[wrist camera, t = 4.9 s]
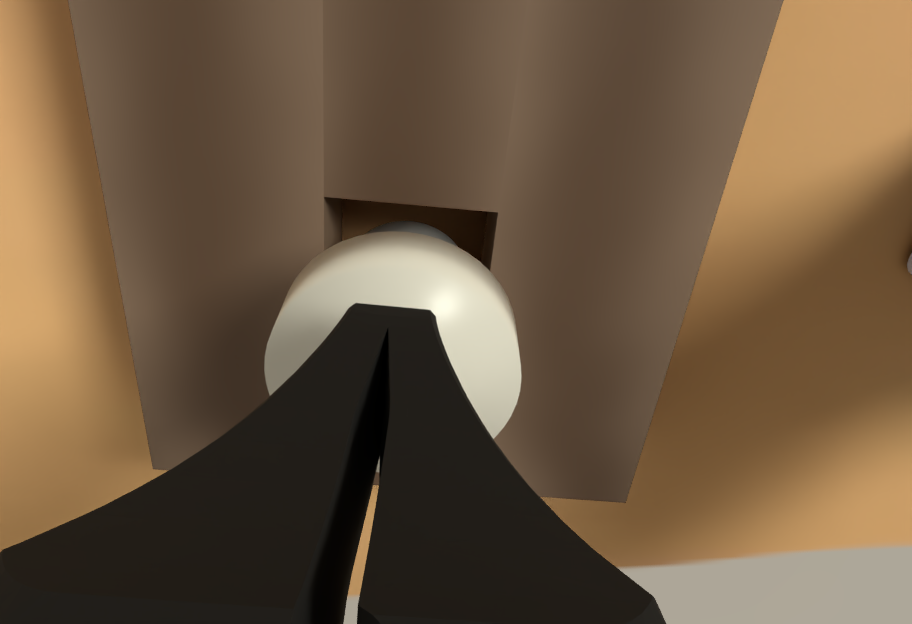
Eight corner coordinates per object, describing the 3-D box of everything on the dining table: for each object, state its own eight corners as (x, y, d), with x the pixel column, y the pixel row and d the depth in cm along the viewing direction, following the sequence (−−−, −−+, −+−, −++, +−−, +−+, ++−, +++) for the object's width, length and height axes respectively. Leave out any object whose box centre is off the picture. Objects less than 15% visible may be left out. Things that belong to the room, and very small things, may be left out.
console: (985, -937, 10) (1167, -1219, 7) (607, 435, 24) (625, 502, 21) (-21, -1111, 9) (-201, -1481, 7) (187, 403, 23) (153, 469, 20)
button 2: (522, 190, 16) (540, 280, 12) (494, 366, 19) (503, 481, 15) (302, 170, 16) (257, 256, 12) (306, 351, 18) (269, 465, 15)
